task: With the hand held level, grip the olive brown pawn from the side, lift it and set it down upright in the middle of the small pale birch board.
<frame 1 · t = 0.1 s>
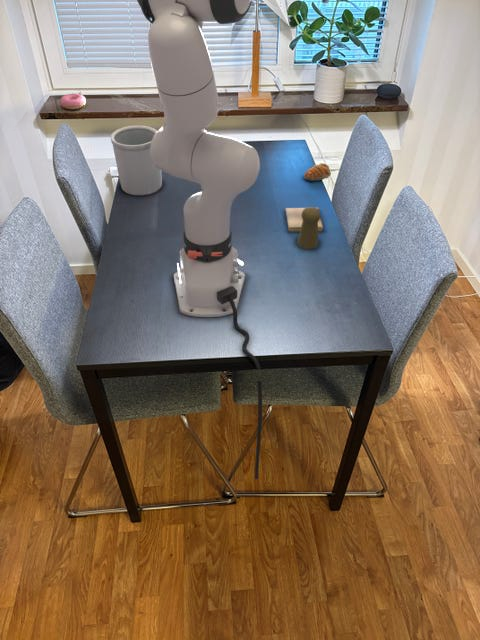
serving board: (303, 221, 155), on the table
olive brown pawn: (307, 243, 147), on the table
utensil holder: (141, 186, 171), on the table
pastry: (317, 177, 176), on the table
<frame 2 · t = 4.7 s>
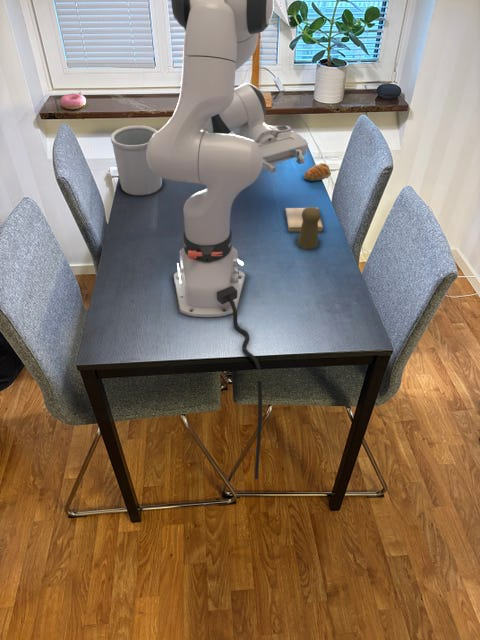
hand: (288, 165, 142), 18 cm above the table, tool horizontal, fingers open, 8 cm apart
nothing on the table moved.
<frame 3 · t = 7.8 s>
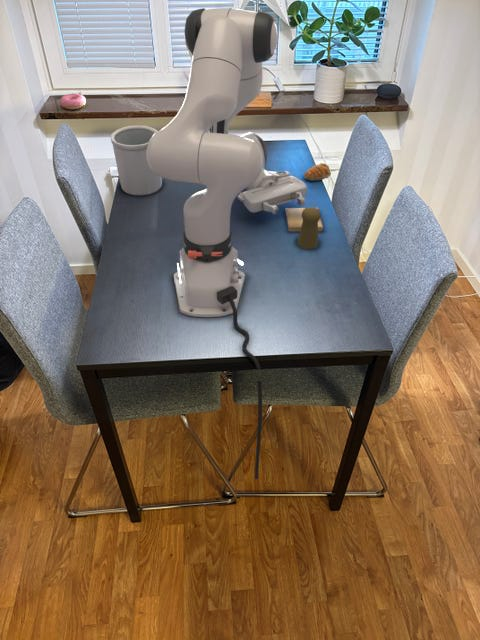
hand: (289, 207, 148), 7 cm above the table, tool horizontal, fingers open, 8 cm apart
nothing on the table moved.
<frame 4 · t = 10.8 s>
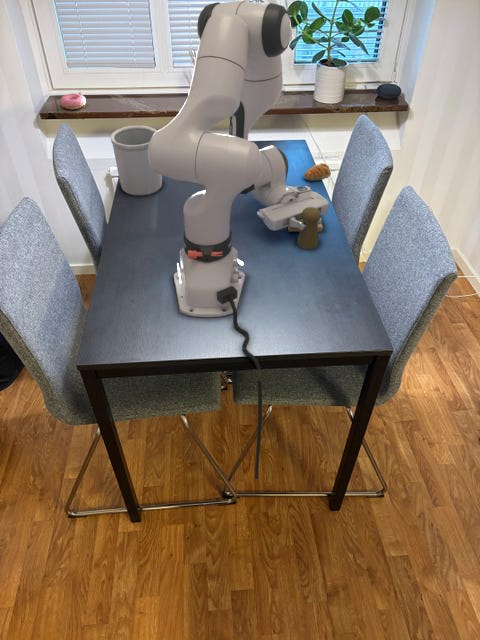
hand: (312, 224, 142), 7 cm above the table, tool horizontal, fingers closed on olive brown pawn, 4 cm apart
olive brown pawn: (307, 243, 147), on the table, touching gripper
everything else where it was.
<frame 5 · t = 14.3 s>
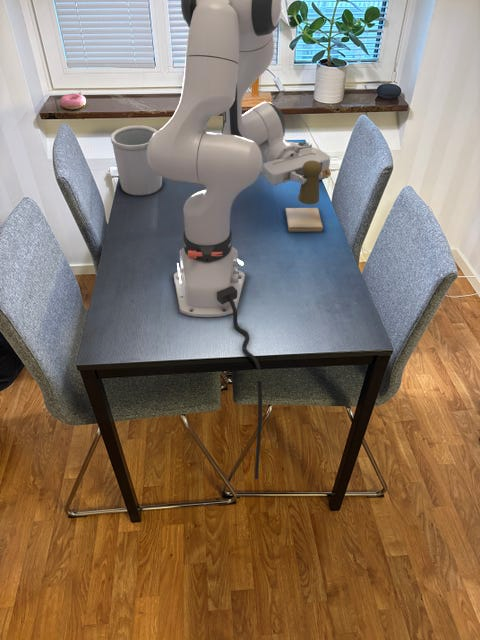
hand: (313, 178, 139), 17 cm above the table, tool horizontal, fingers closed on olive brown pawn, 4 cm apart
olive brown pawn: (308, 199, 145), point 10 cm above the table, touching gripper
everything else where it was.
when the fingers open (8 cm above the table, at t = 17.8 s): olive brown pawn stays where it is, resting on serving board.
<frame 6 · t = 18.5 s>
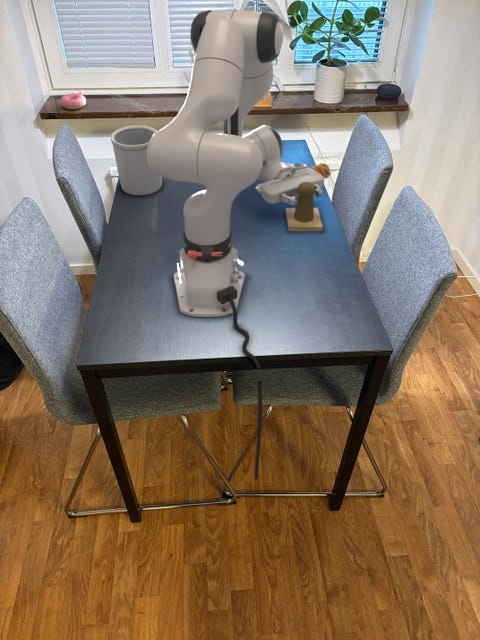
hand: (307, 198, 149), 8 cm above the table, tool horizontal, fingers open, 8 cm apart
olive brown pawn: (303, 217, 154), point 1 cm above the table, touching serving board
everything else where it was.
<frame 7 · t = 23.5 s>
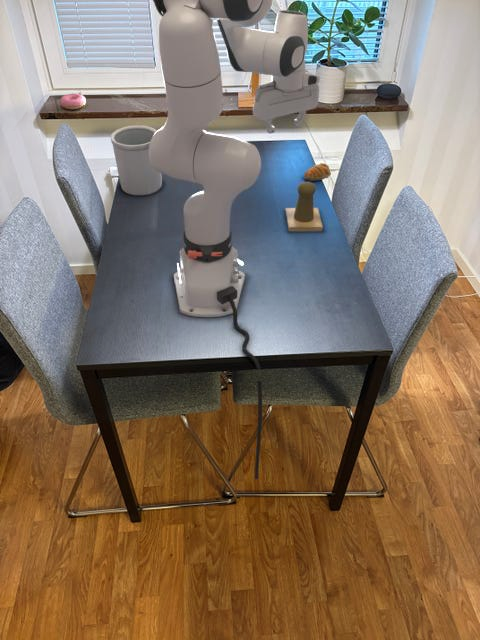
hand: (284, 129, 147), 24 cm above the table, tool pointing down, fingers open, 8 cm apart
nothing on the table moved.
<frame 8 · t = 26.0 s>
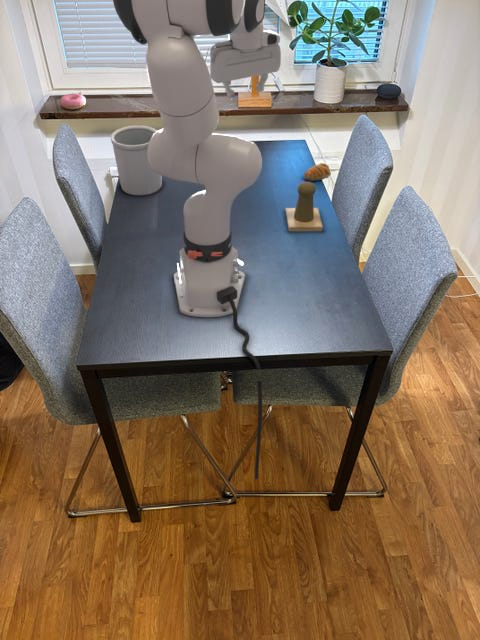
hand: (245, 93, 139), 34 cm above the table, tool pointing down, fingers open, 8 cm apart
nothing on the table moved.
at the end: olive brown pawn inside the target area on the serving board (0.1 cm from its centre), point 1.3 cm above the serving board's base; olive brown pawn tilted 0°; the gripper is holding nothing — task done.
